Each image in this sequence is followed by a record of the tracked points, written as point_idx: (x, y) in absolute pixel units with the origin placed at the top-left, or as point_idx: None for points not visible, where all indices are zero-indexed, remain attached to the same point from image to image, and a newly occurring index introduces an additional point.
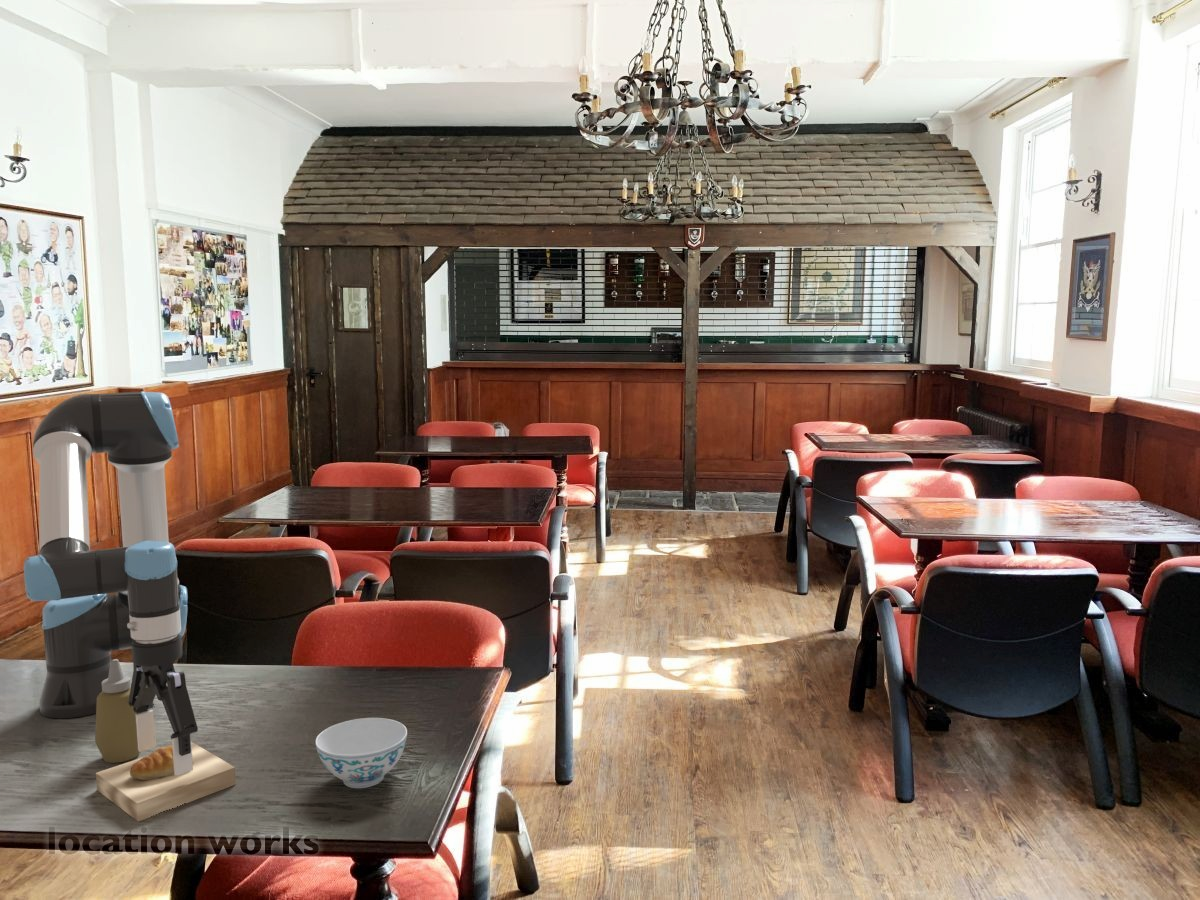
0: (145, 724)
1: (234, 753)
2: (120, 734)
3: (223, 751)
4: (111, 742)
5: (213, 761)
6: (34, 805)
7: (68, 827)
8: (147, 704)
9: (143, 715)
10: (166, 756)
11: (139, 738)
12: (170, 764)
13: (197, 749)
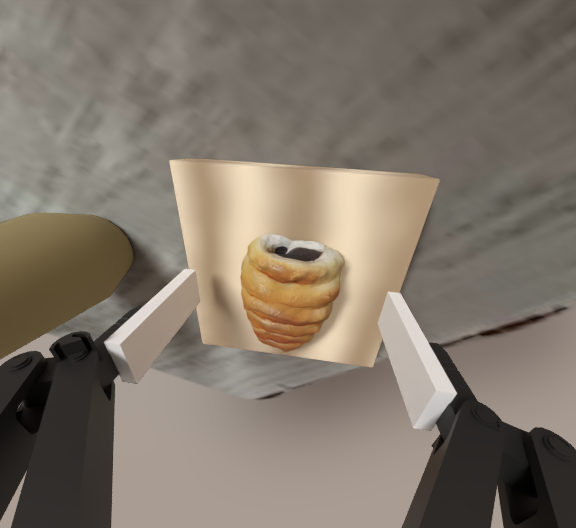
0: (158, 335)
1: (249, 56)
2: (91, 295)
3: (213, 74)
4: (102, 298)
5: (347, 196)
6: (204, 370)
7: (296, 379)
8: (101, 391)
9: (137, 365)
10: (315, 321)
11: (183, 323)
12: (330, 309)
13: (238, 179)
